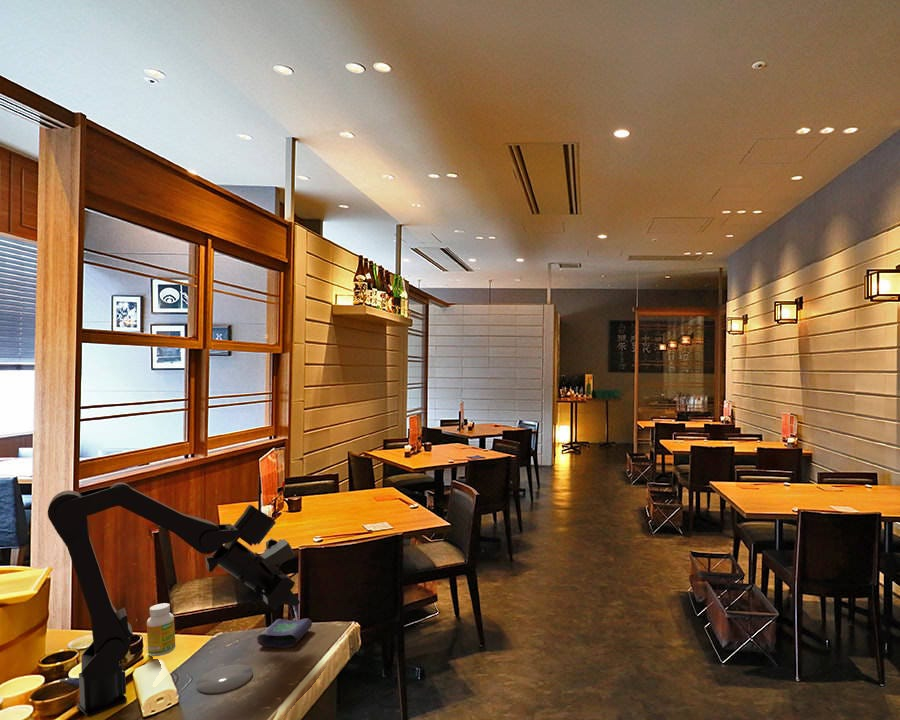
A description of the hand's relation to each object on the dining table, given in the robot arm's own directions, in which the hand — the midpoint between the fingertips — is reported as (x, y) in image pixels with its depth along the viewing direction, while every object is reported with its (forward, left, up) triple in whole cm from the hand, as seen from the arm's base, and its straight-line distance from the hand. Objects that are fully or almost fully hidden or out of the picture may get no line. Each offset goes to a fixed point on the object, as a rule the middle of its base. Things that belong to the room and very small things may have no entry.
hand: (298, 603), depth 128 cm
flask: (-4, +2, -7) cm, 9 cm away
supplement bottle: (-20, +24, -9) cm, 32 cm away
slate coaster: (-18, -1, -9) cm, 20 cm away
